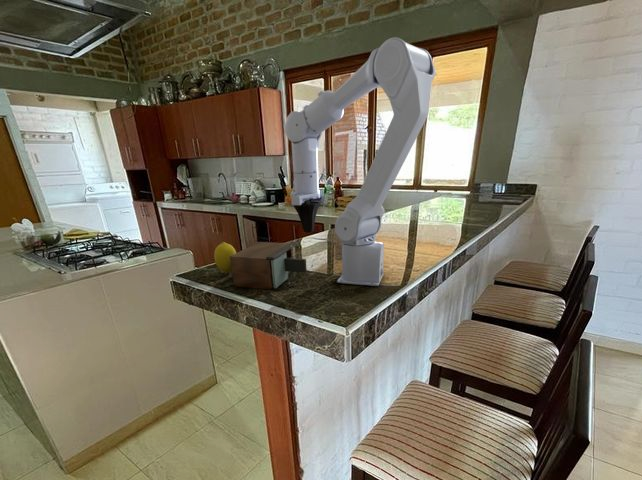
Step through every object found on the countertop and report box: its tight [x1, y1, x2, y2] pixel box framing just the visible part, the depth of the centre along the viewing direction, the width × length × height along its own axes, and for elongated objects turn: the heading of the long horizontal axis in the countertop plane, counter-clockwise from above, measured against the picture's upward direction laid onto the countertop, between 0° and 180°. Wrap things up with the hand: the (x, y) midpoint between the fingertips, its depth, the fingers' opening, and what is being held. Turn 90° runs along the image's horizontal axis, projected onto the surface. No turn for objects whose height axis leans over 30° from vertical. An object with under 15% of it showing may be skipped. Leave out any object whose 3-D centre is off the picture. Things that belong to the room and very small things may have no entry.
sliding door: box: [271, 252, 308, 289], centre depth 75 cm, size 6×7×6 cm
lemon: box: [213, 241, 237, 274], centre depth 84 cm, size 6×6×8 cm
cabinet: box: [230, 241, 300, 290], centre depth 79 cm, size 11×14×7 cm
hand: (308, 231), depth 84 cm, fingers closed
